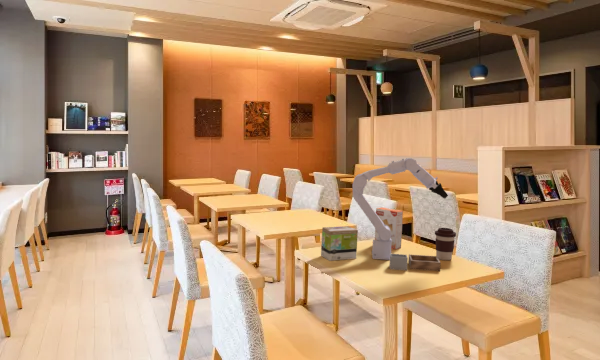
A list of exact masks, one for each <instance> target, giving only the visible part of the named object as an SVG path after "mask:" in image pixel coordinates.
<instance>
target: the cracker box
mask: <svg viewBox="0 0 600 360" xmlns="http://www.w3.org/2000/svg"><path fill="white" fill-rule="evenodd" d="M375 212H376V214H377V215H378V216H379V218H380V219H381V220H382V221H383V223H384V224H385V225H387V226H388V227H389V228H390V230H391V234H392V236H391V239H392V244H391V250H398V249H399V250H400V249H401V248H402V238H403V235H402V233H403V215H404V214H403V213H404V211H403V210H399V209H394V208H389V207H377V208H376V209H375ZM378 237H379V236H378V232H377V231H376V229H375V228H374V240H376V239H377V238H378Z"/></svg>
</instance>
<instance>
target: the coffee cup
mask: <svg viewBox="0 0 600 360" xmlns="http://www.w3.org/2000/svg"><path fill="white" fill-rule="evenodd" d="M434 235H435V251H436V253H435V254H436V255H435V256H437V258H438V259H439V260H441V261H451V260H452V257H453V252H454V247H455V237H456V236H457V233H456V232H455V231H454V230H453V228H449V227H438V229H437V230H435V231H434Z"/></svg>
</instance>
